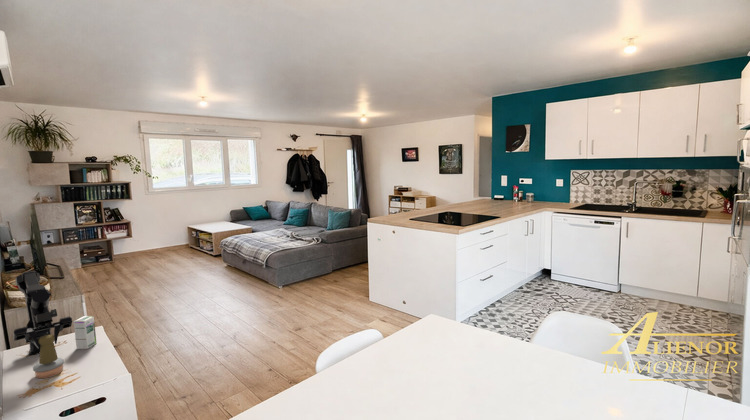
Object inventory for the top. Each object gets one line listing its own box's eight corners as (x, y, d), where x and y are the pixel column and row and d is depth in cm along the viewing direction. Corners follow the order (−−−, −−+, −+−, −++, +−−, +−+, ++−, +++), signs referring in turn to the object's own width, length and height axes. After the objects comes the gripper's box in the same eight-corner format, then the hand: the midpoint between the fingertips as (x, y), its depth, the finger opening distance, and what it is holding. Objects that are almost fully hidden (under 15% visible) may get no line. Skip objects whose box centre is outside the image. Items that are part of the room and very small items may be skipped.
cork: (59, 359, 158) (57, 335, 156) (41, 365, 153) (38, 340, 152) (55, 355, 161) (53, 331, 160) (37, 360, 156) (34, 336, 155)
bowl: (36, 372, 158) (35, 364, 158) (63, 365, 164) (62, 357, 164) (34, 381, 151) (33, 373, 151) (63, 374, 157) (62, 366, 157)
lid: (34, 364, 158) (33, 362, 158) (64, 357, 164) (64, 355, 164) (32, 374, 150) (31, 372, 150) (63, 366, 157) (63, 364, 156)
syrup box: (87, 349, 178) (85, 320, 177) (75, 348, 178) (73, 320, 177) (96, 343, 184) (94, 316, 182) (85, 343, 184) (82, 315, 182)
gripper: (11, 311, 150) (17, 345, 144) (69, 299, 164) (77, 330, 158) (10, 323, 156) (16, 357, 150) (67, 311, 170) (74, 341, 164)
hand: (47, 345), depth 155 cm, fingers closed on cork, 5 cm apart
